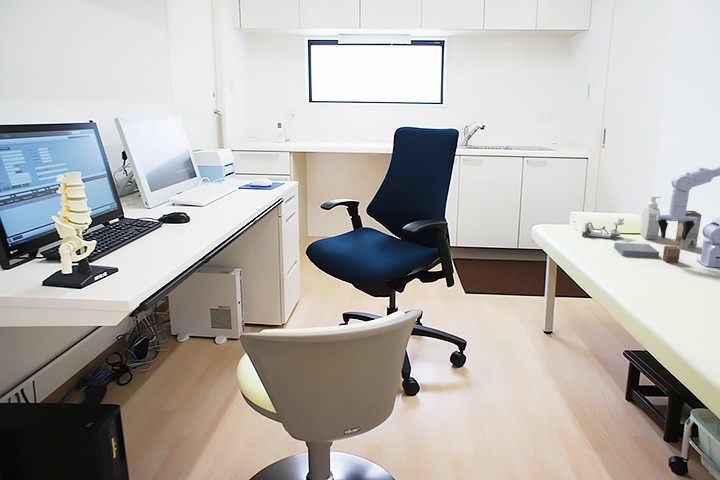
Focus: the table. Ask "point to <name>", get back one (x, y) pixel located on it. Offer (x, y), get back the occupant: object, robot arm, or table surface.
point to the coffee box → (692, 236)
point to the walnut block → (671, 254)
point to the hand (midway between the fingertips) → (673, 238)
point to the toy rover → (599, 233)
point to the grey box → (636, 250)
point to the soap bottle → (650, 220)
